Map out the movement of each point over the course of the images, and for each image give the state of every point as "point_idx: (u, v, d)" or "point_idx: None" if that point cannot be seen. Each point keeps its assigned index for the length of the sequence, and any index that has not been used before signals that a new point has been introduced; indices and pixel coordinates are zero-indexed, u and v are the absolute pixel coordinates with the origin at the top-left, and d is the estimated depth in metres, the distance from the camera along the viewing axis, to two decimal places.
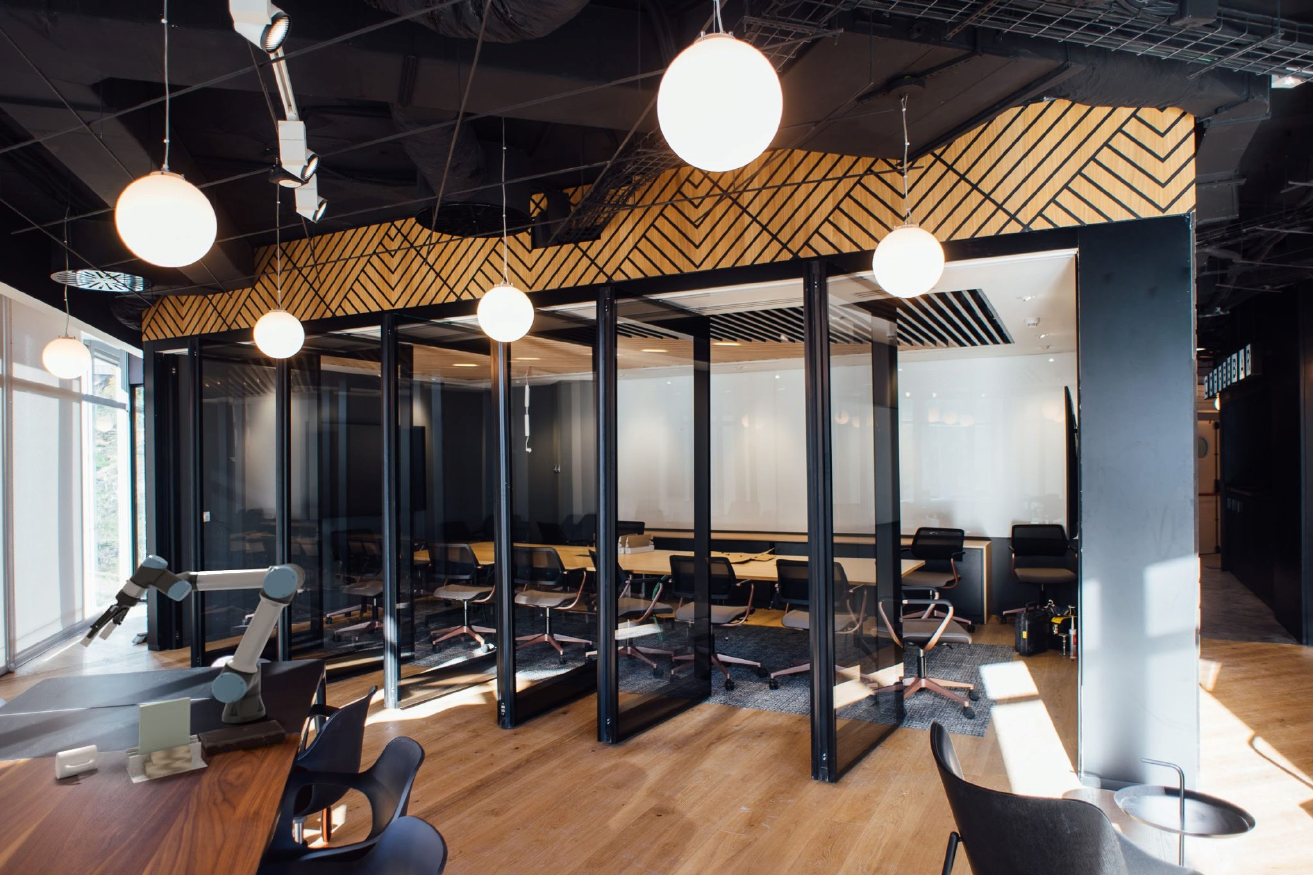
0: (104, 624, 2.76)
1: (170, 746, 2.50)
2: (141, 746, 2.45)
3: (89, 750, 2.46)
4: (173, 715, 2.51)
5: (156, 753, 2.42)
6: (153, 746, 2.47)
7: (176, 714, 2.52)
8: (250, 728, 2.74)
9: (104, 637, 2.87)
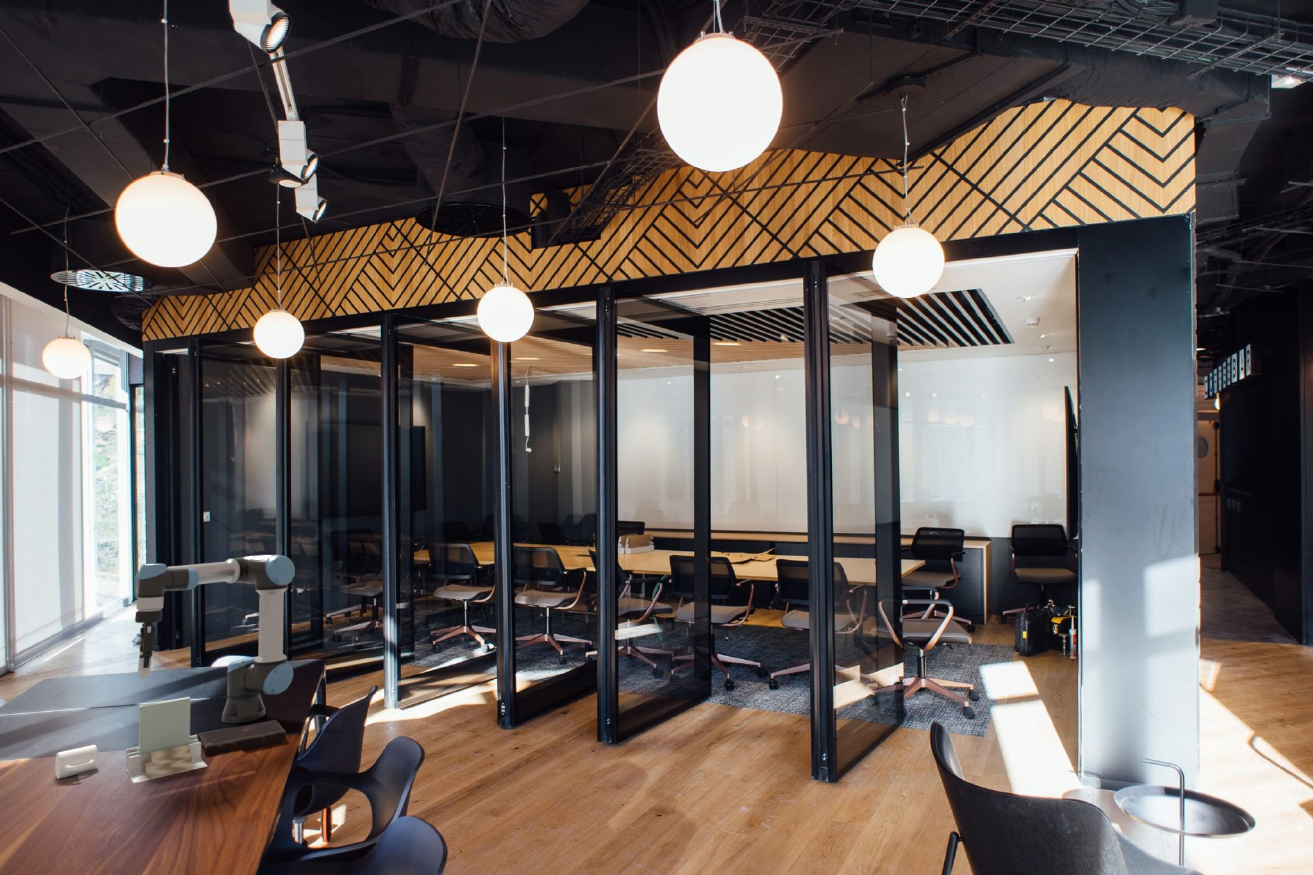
0: None
1: (170, 746, 2.50)
2: (141, 746, 2.45)
3: (89, 750, 2.46)
4: (173, 715, 2.51)
5: (156, 753, 2.42)
6: (153, 746, 2.47)
7: (176, 714, 2.52)
8: (250, 728, 2.74)
9: None
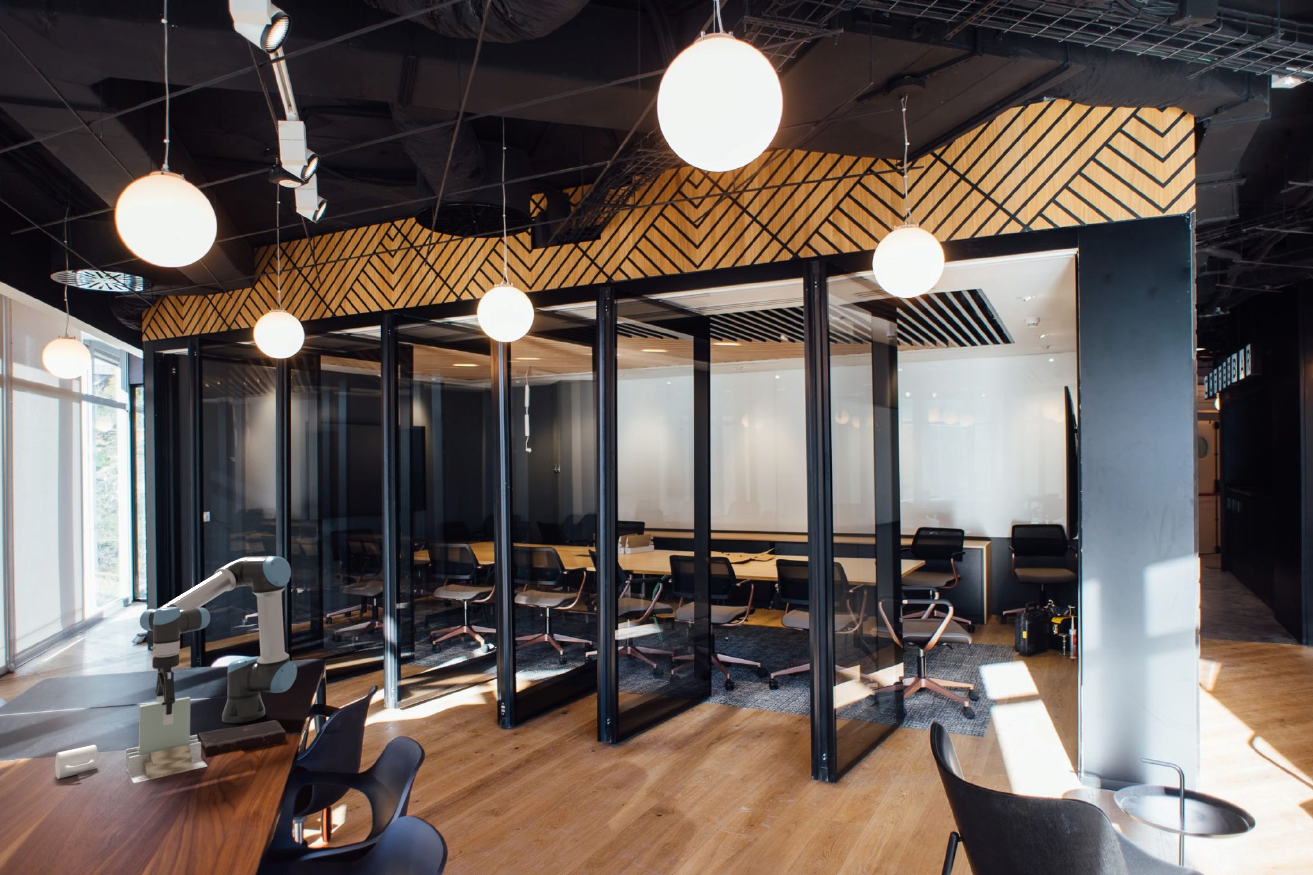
0: None
1: (170, 746, 2.50)
2: (141, 746, 2.45)
3: (89, 750, 2.46)
4: (173, 715, 2.51)
5: (156, 753, 2.42)
6: (153, 746, 2.47)
7: (176, 714, 2.52)
8: (250, 728, 2.74)
9: None
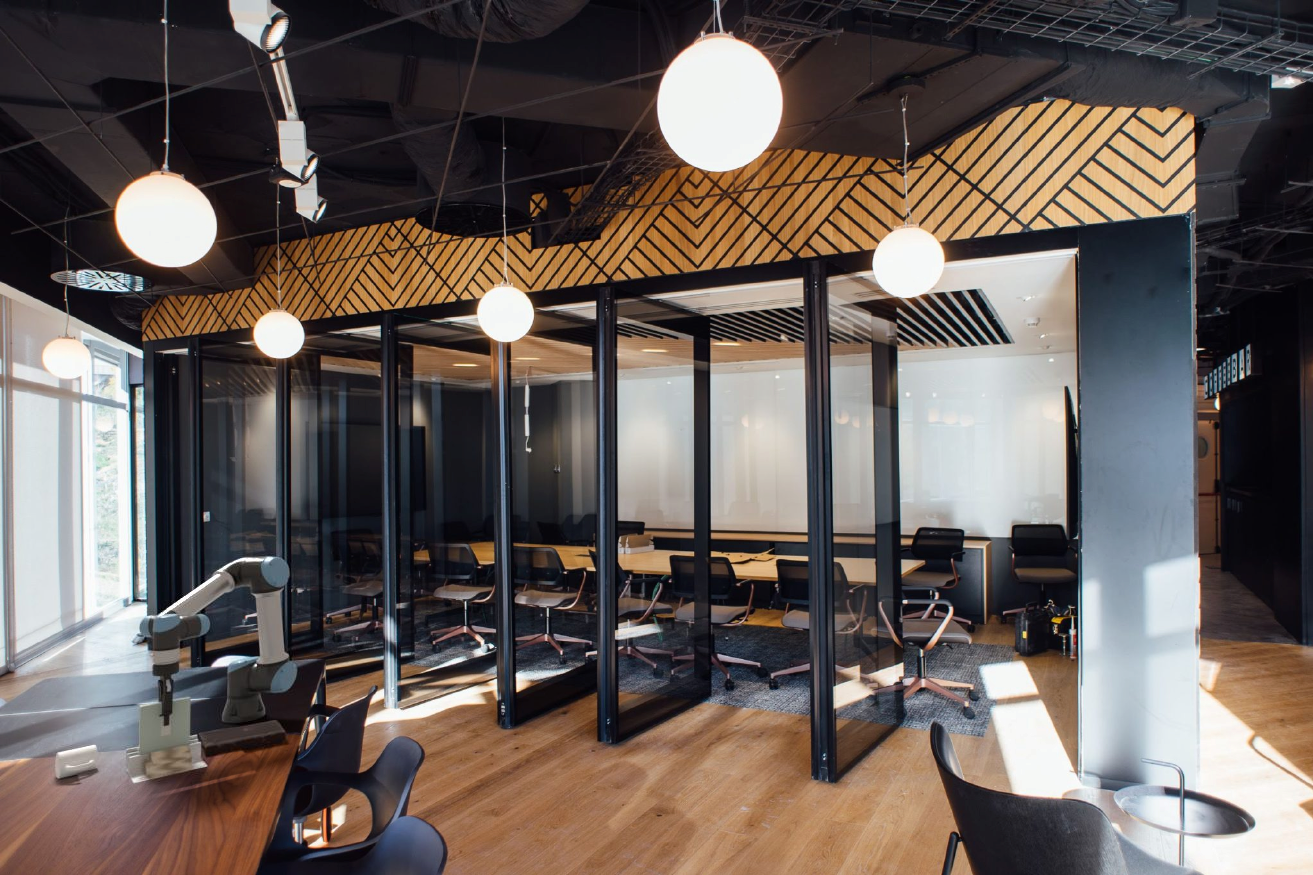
0: None
1: (170, 746, 2.50)
2: (141, 746, 2.45)
3: (89, 750, 2.46)
4: (173, 715, 2.51)
5: (156, 753, 2.42)
6: (153, 746, 2.47)
7: (176, 714, 2.52)
8: (251, 728, 2.74)
9: None
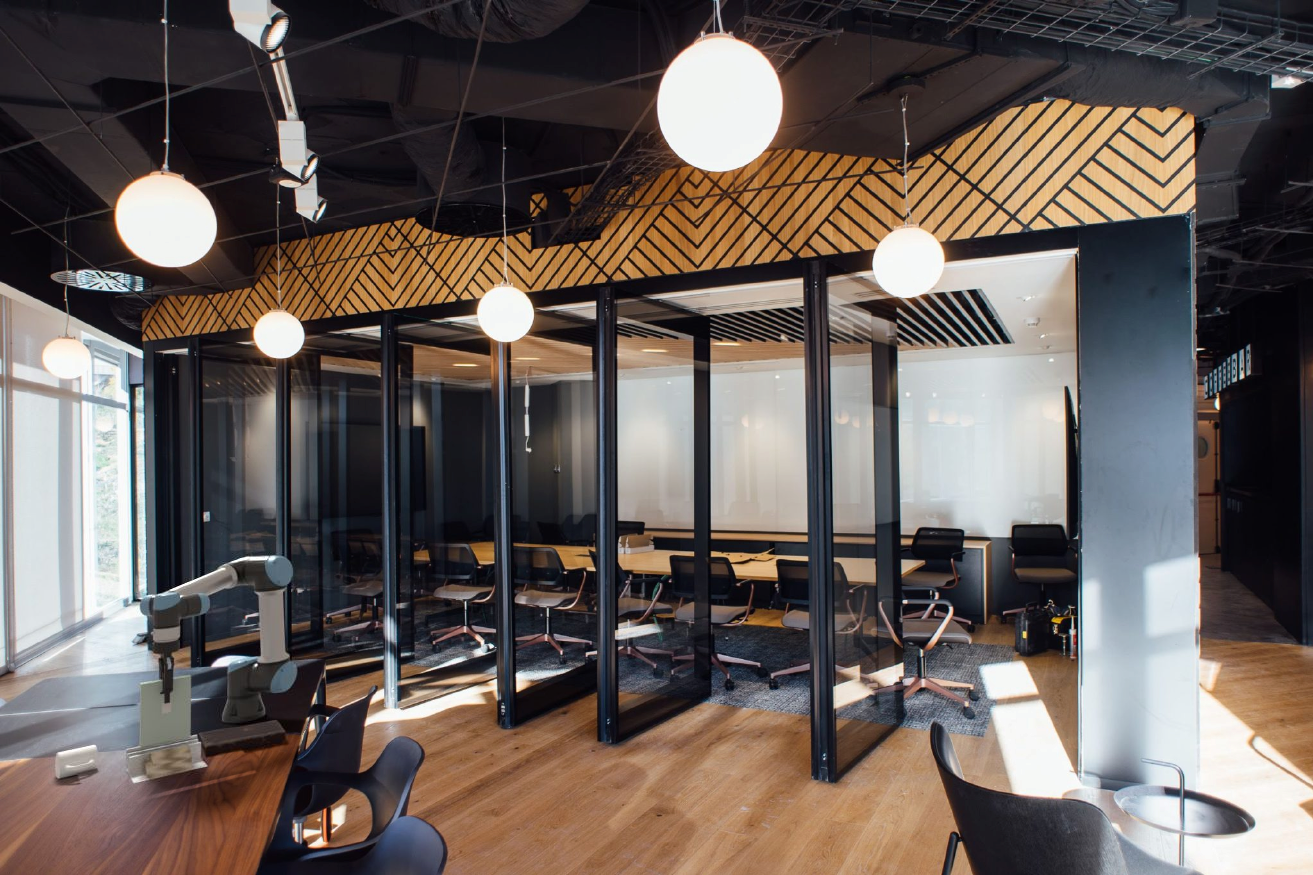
0: None
1: (171, 724, 2.51)
2: (142, 723, 2.45)
3: (89, 750, 2.46)
4: (174, 692, 2.52)
5: (156, 753, 2.42)
6: (154, 723, 2.47)
7: (176, 692, 2.52)
8: (251, 728, 2.74)
9: None
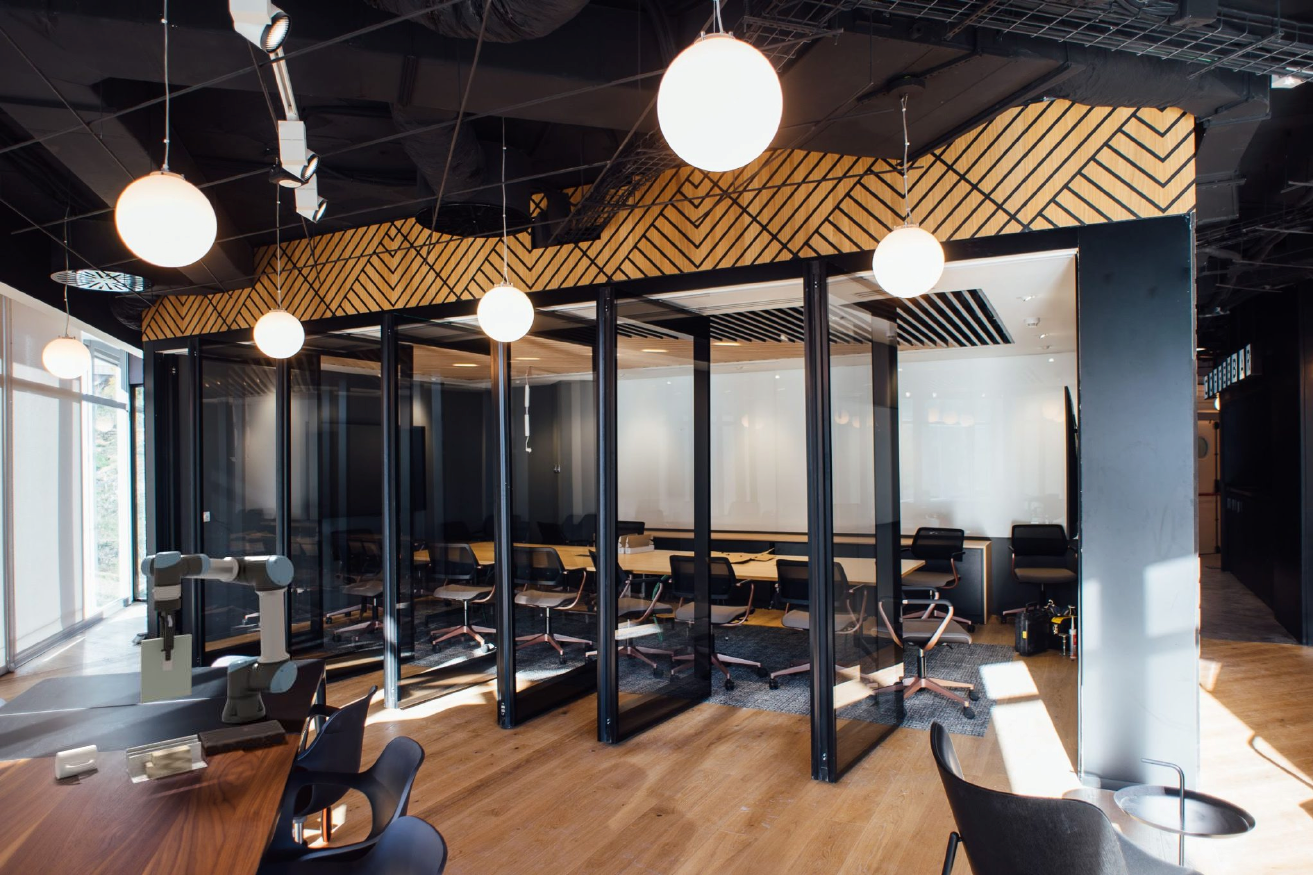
0: None
1: (172, 681, 2.52)
2: (143, 680, 2.46)
3: (89, 750, 2.46)
4: (175, 650, 2.53)
5: (156, 753, 2.42)
6: (155, 681, 2.48)
7: (177, 650, 2.53)
8: (251, 728, 2.74)
9: None
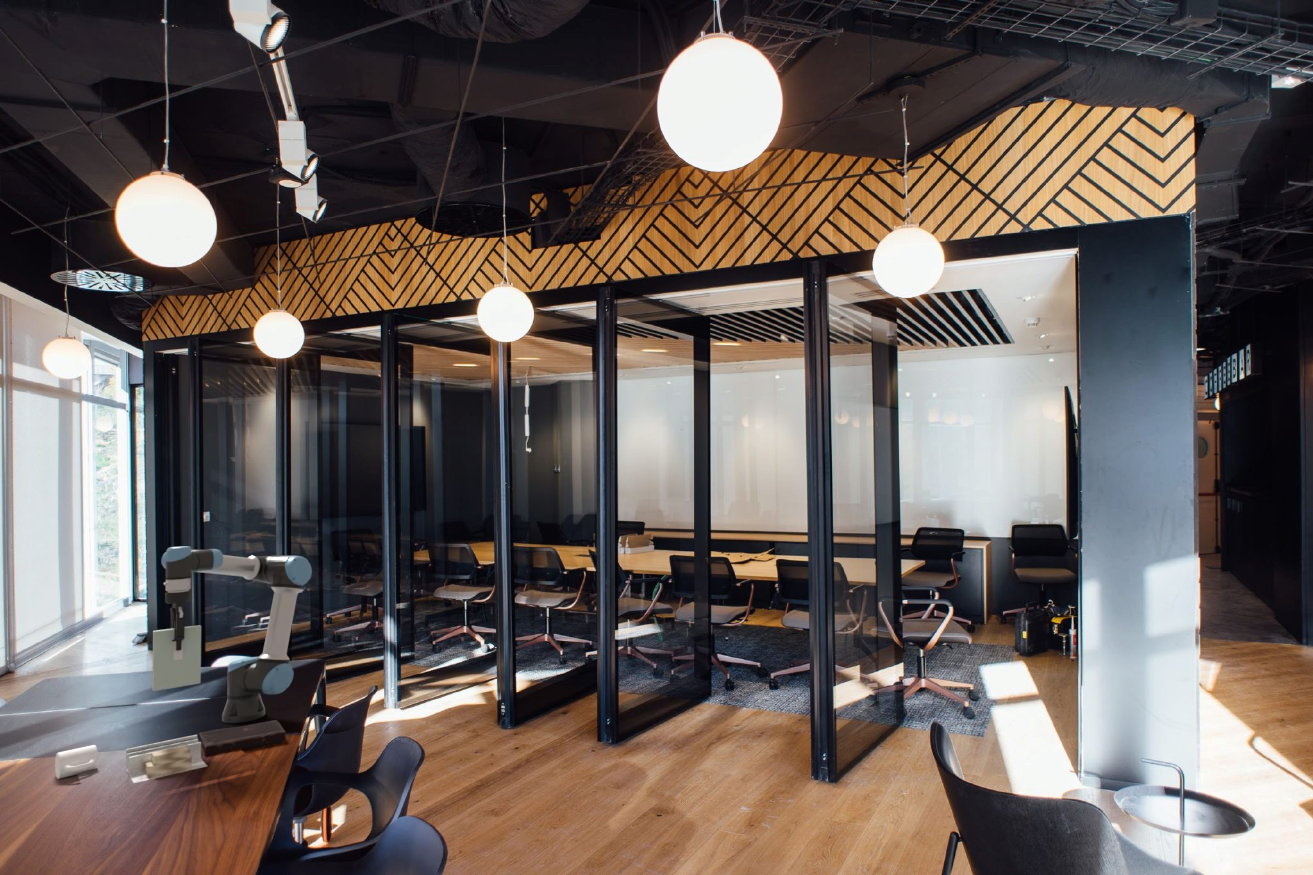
0: None
1: (182, 670, 2.63)
2: (155, 669, 2.58)
3: (89, 750, 2.46)
4: (185, 641, 2.64)
5: (156, 753, 2.42)
6: (166, 669, 2.60)
7: (187, 640, 2.65)
8: (251, 728, 2.74)
9: None
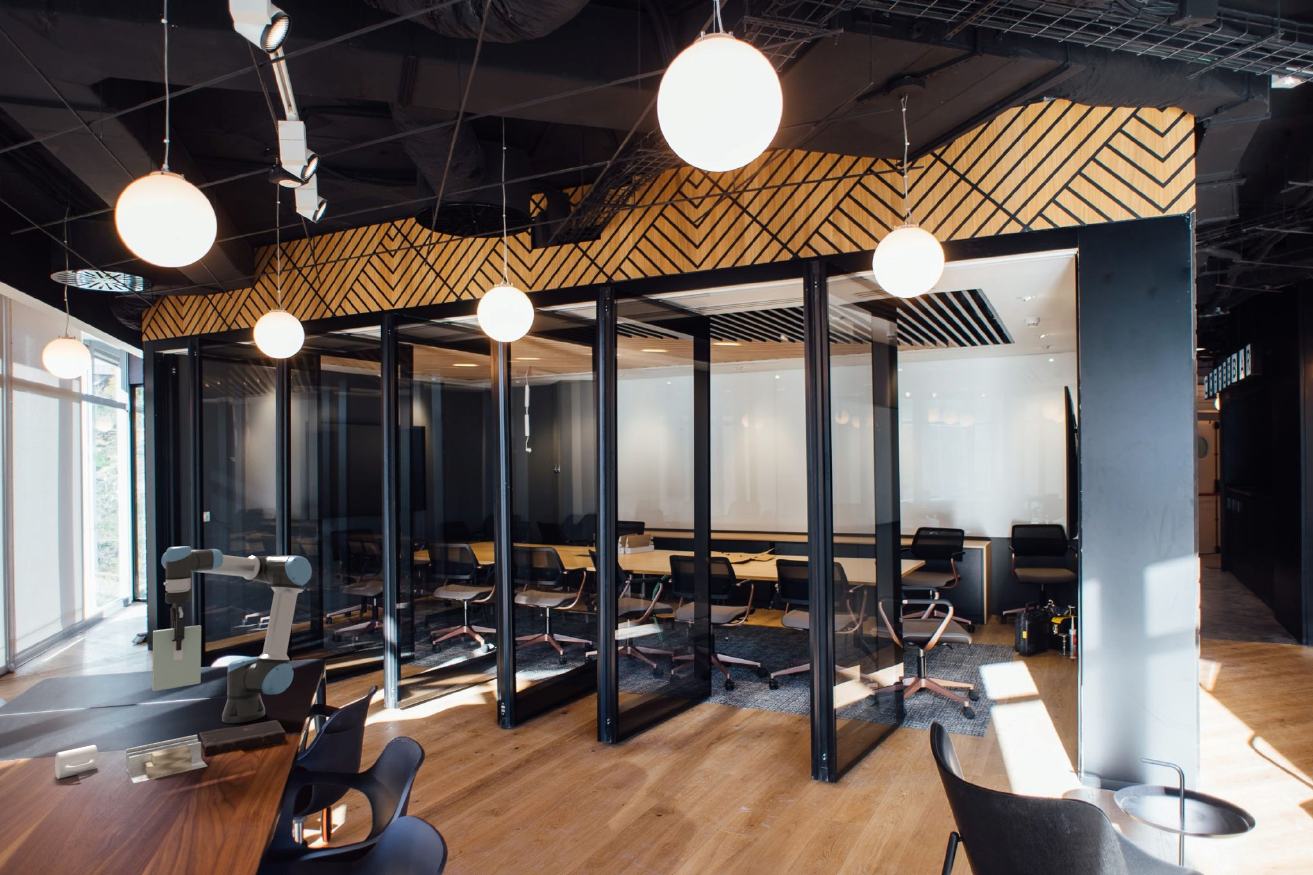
0: None
1: (182, 670, 2.63)
2: (155, 669, 2.58)
3: (89, 750, 2.46)
4: (185, 641, 2.64)
5: (156, 753, 2.42)
6: (166, 669, 2.60)
7: (187, 640, 2.65)
8: (251, 728, 2.74)
9: None
